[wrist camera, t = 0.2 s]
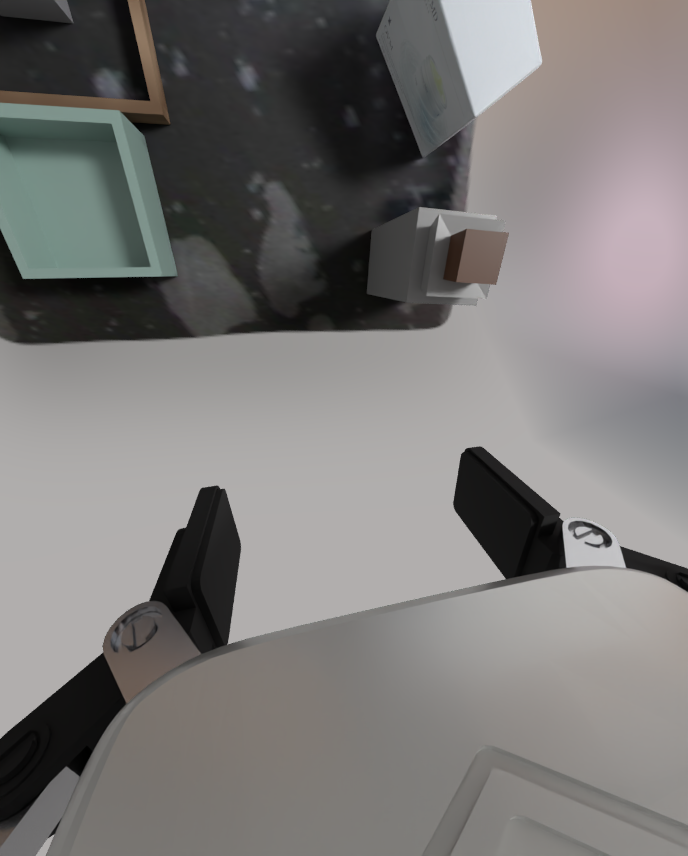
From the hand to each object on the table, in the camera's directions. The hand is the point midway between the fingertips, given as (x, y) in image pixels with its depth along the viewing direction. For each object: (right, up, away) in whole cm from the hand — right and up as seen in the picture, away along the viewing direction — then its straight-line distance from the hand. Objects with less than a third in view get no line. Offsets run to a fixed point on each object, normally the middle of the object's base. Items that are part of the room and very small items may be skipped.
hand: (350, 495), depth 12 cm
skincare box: (+8, +37, +18) cm, 42 cm away
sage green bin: (-24, +24, +18) cm, 39 cm away
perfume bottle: (+6, +23, +25) cm, 35 cm away
